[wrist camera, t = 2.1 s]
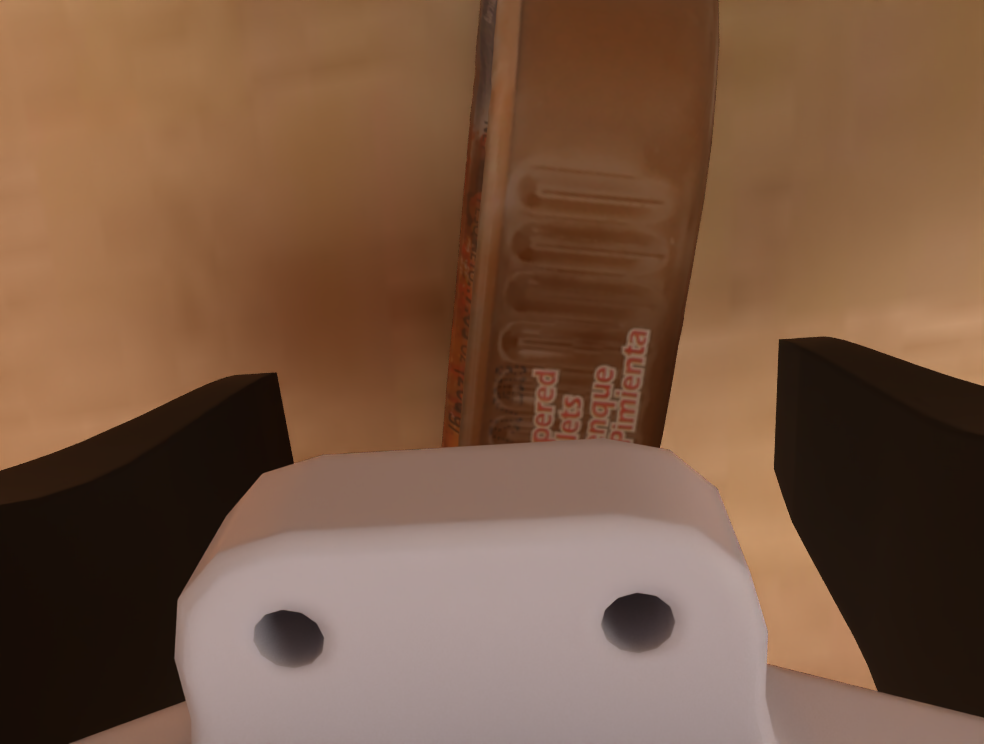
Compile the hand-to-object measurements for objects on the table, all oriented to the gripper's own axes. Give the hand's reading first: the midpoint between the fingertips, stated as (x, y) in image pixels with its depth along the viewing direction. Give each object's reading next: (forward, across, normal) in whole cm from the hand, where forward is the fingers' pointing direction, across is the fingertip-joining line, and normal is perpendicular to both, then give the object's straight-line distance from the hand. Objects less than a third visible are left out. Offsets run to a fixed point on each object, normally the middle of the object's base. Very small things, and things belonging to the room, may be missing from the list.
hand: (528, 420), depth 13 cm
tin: (+6, 0, 0) cm, 7 cm away
